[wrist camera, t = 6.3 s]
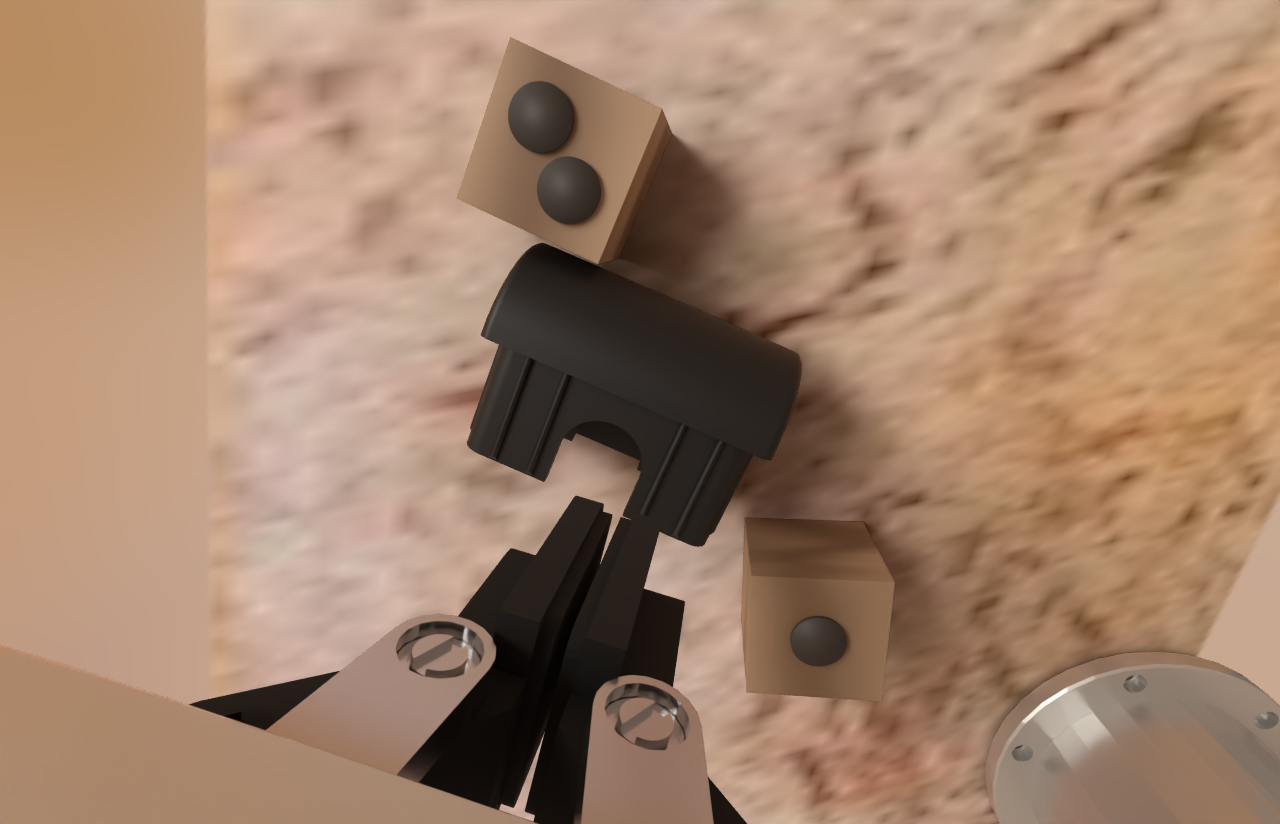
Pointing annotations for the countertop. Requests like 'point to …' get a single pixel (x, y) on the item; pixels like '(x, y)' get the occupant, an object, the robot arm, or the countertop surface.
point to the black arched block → (630, 387)
